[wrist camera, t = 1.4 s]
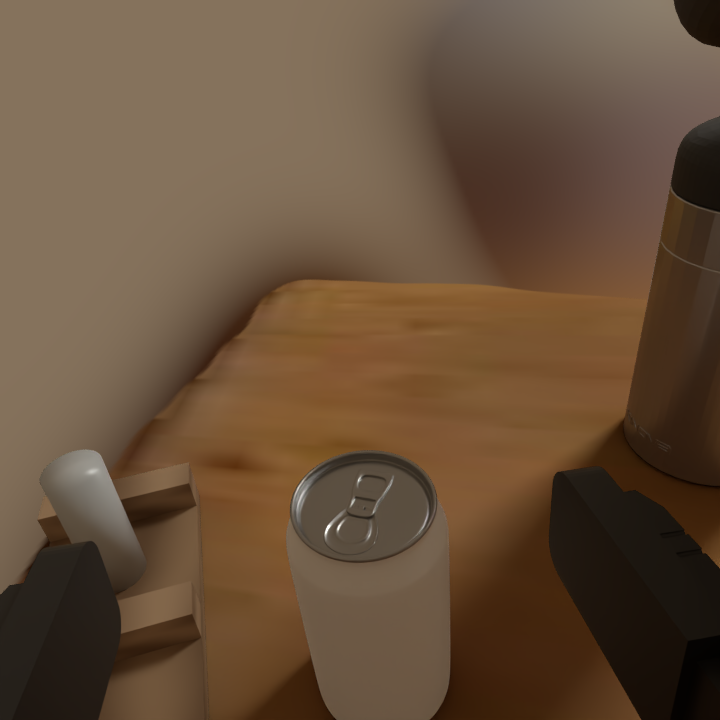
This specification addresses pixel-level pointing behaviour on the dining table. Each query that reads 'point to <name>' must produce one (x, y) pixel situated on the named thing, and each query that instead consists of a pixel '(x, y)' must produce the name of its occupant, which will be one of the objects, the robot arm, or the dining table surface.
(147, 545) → the rail
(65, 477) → the grey peg
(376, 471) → the can
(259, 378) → the dining table surface
